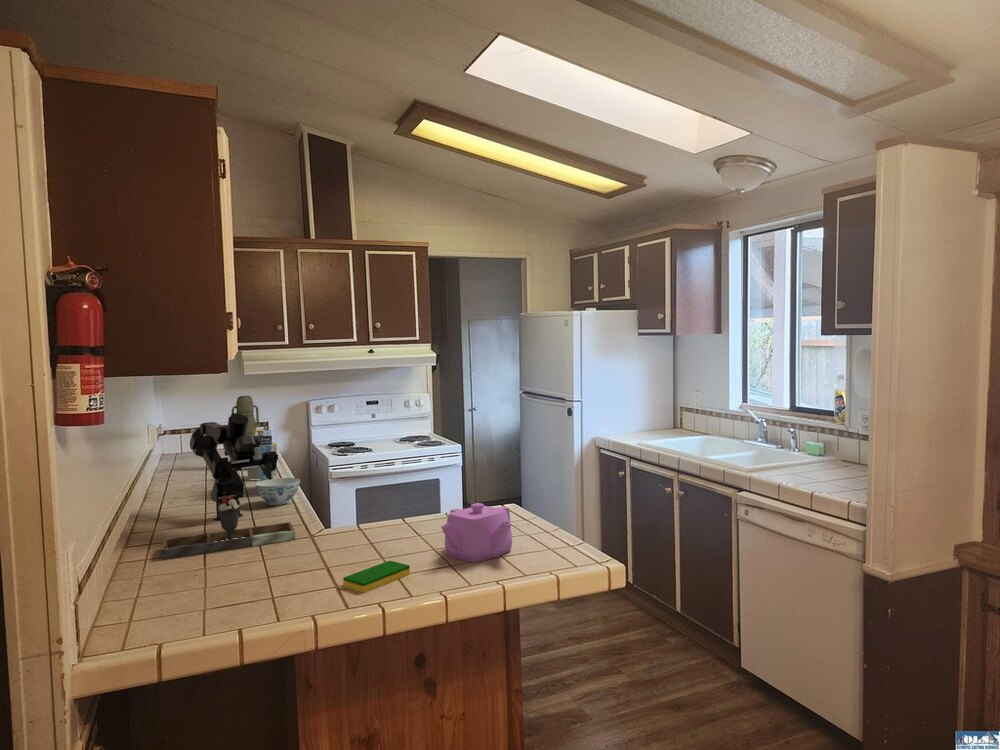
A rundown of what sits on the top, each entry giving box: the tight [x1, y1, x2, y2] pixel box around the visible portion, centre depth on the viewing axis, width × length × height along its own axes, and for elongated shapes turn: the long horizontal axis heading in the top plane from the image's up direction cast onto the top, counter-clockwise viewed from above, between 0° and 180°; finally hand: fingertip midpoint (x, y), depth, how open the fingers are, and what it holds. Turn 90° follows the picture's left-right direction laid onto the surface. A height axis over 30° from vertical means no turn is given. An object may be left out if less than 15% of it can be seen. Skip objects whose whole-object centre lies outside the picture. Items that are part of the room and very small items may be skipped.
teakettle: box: [440, 502, 513, 564], centre depth 159 cm, size 17×17×12 cm
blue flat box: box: [259, 429, 274, 482], centre depth 248 cm, size 20×5×23 cm, turn 20°
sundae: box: [215, 492, 242, 540], centre depth 176 cm, size 7×7×15 cm
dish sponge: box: [342, 560, 411, 593], centre depth 142 cm, size 7×14×2 cm, turn 142°
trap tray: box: [160, 521, 296, 560], centre depth 176 cm, size 33×12×2 cm, turn 114°
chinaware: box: [254, 477, 301, 506], centre depth 225 cm, size 15×15×8 cm
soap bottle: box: [247, 429, 278, 480], centre depth 276 cm, size 13×13×21 cm
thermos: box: [231, 395, 260, 436], centre depth 304 cm, size 9×12×35 cm
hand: (255, 480), depth 187 cm, fingers open, 9 cm apart
